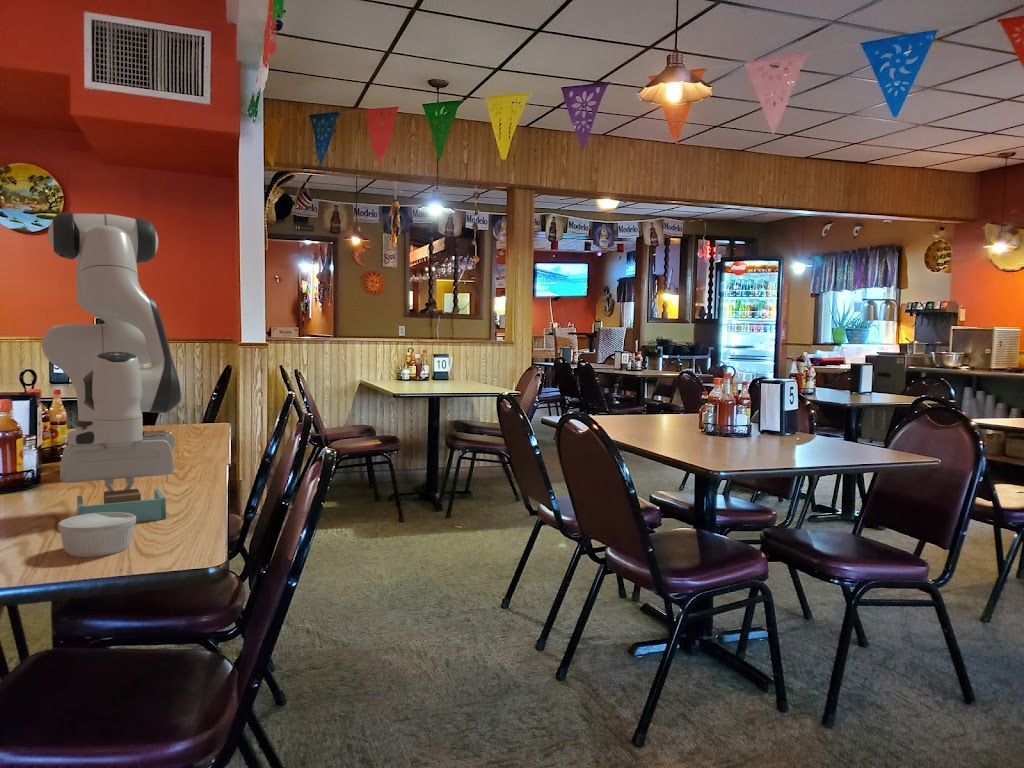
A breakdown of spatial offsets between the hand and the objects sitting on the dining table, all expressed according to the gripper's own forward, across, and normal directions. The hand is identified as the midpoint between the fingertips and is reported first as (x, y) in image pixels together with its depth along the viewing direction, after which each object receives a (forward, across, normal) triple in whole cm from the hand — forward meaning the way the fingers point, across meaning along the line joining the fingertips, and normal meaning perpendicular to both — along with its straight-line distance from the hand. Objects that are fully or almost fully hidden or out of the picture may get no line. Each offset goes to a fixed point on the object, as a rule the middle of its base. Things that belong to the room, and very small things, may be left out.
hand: (119, 500), depth 144 cm
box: (+3, 0, +4) cm, 5 cm away
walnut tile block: (+3, 0, +4) cm, 5 cm away
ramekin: (+3, +5, +26) cm, 27 cm away
